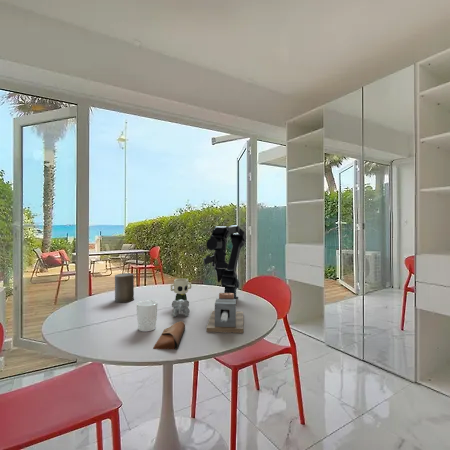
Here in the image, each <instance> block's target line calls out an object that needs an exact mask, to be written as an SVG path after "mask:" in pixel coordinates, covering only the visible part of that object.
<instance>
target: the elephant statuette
mask: <svg viewBox="0 0 450 450" xmlns="http://www.w3.org/2000/svg"><path fill="white" fill-rule="evenodd" d="M189 306H190V301H189V300H188V299H187V300H185V301H184V300H182V299H181V300H178V301H176V300H175V299H174V300H172V302H171V307H172V308H173V309H172V314H171V315H172V317H174V318H176V317H177V316H178V314H179V315H180V314H181V313H182V312H183V314H184V317H188V316H189V315H190V308H189Z"/></svg>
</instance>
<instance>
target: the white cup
mask: <svg viewBox="0 0 450 450" xmlns="http://www.w3.org/2000/svg"><path fill="white" fill-rule="evenodd" d="M136 317H137V318H136V319H137V330H138V331H140V332H151V331H154V330H155V329H156V328H157V319H158V318H157V317H158V301H157V300H152V299H151V300H150V299H149V300H141V301H138V302H136Z"/></svg>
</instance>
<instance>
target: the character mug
mask: <svg viewBox="0 0 450 450" xmlns="http://www.w3.org/2000/svg"><path fill="white" fill-rule="evenodd" d="M191 289H192V282H189V279H188V278H176V279H174V280H173V283H172V284H170V291H171V292H174V293H175V294H176V295H175V299H174V300H176V301H178V300H181V299H182V300H184V301H185V300H187V301H188V298H187V293H188V292H189V290H191Z"/></svg>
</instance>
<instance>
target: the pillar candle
mask: <svg viewBox="0 0 450 450" xmlns="http://www.w3.org/2000/svg"><path fill="white" fill-rule="evenodd" d="M134 276H135V274H134V273H131V272H130V273H129V272H124V273H123V272H122V273H117V274H115V275H114V302H116V303H128V302H132V301H134V300H135V299H134V298H135V297H134V296H135V291H134V290H135V289H134V288H135V282H134V279H135V277H134Z"/></svg>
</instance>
